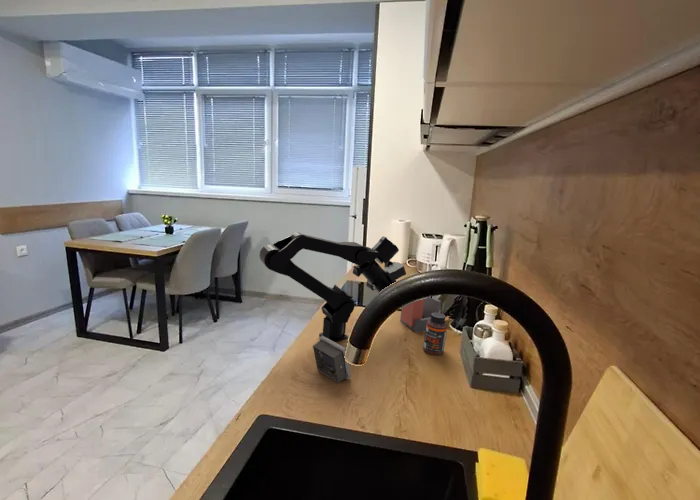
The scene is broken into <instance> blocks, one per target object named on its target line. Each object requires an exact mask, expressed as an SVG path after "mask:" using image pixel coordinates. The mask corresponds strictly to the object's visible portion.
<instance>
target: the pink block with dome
mask: <svg viewBox="0 0 700 500" xmlns="http://www.w3.org/2000/svg"><path fill="white" fill-rule="evenodd" d="M423 306H424V299H423V300H419V301H416V302H414V303H411V304H409V305H407V306H406V307H404V308H401V310H402V316H401V315H400V318H401V320H402V321H403V322H405V323H406V324H408V325H409V326H411V327H414V325H415V319H420V318H422V314H423Z"/></svg>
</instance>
